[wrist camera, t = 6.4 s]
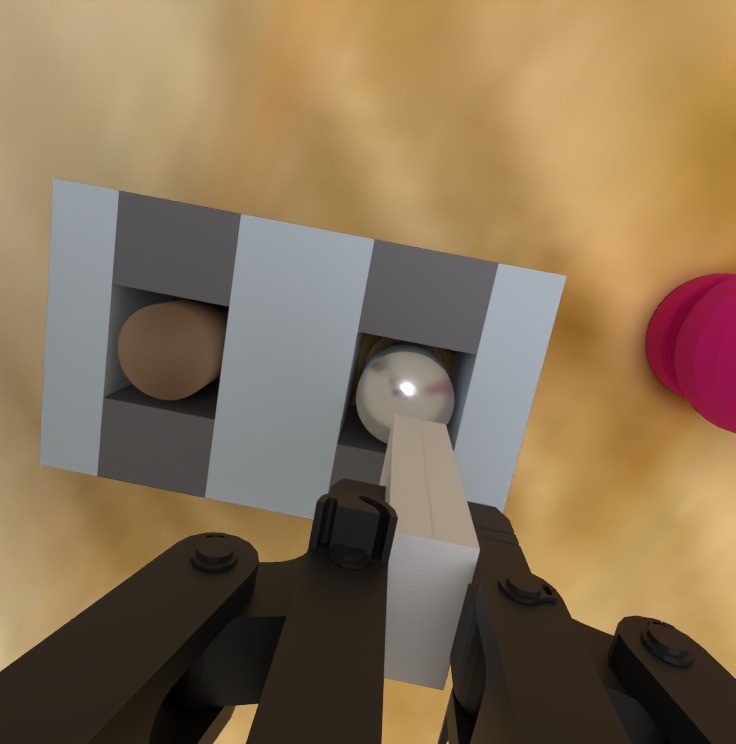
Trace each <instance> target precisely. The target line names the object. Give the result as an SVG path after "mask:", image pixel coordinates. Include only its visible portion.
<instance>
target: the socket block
mask: <svg viewBox="0 0 736 744" xmlns="http://www.w3.org/2000/svg"><path fill="white" fill-rule="evenodd" d="M565 280H566V276H563V275H558V274H553V273H548V272H542V271H537V270H532V269H527V268H521V267H516V266H511V265H506V264H501V263H495V262H490V261H485V260H480V259H474V258H469V257H464V256H459V255H454V254H448V253H443V252H438V251H433V250H427V249H422V248H417V247H412V246H406V245H401V244H396V243H391V242H386V241H380V240H375V239H370V238H365V237H359V236H354V235H349V234H344V233H338V232H333V231H328V230H323V229H318V228H312V227H307V226H302V225H297V224H291V223H286V222H281V221H276V220H271V219H265V218H260V217H255V216H250V215H244V214H239V213H234V212H229V211H223V210H218V209H213V208H208V207H203V206H197V205H192V204H187V203H182V202H176V201H171V200H166V199H161V198H155V197H150V196H145V195H140V194H135V193H129V192H124V191H119V190H114V189H108V188H103V187H98V186H93V185H87V184H82V183H77V182H72V181H67V180H61V179H56V178H53V195H52V215H51V235H50V255H49V276H48V296H47V316H46V336H45V356H44V376H43V397H42V417H41V437H40V457H39V465H44V466H49V467H54V468H59V469H64V470H69V471H74V472H79V473H84V474H89V475H94V476H99V477H104V478H109V479H114V480H119V481H124V482H129V483H134V484H139V485H143V486H148V487H153V488H158V489H163V490H168V491H173V492H178V493H183V494H188V495H193V496H198V497H203V498H208V499H213V500H218V501H223V502H228V503H233V504H238V505H243V506H248V507H253V508H258V509H263V510H268V511H273V512H278V513H283V514H288V515H293V516H298V517H303V518H308V519H314V514H315V508H316V503H317V501H318V500H319V498H320V497H321V496H322V495H324V494H327V493H329V492H330V489H331V486H332V485H333V484H335V483H336V482H338V481H340V480H341V479H343V478H346V479H351V480H356V481H361V482H366V483H371V484H376V485H379V484H380V479H381V474H382V469H383V465H384V460H385V455H386V450H387V445H388V444H387V443H385V442H382V441H381V440H379V439H377V438H376V437H375V436H373V435H372V434H371V433H370V432H369V431H368V430H367V429H366V427H365V426H364V425H363V423H362V421H361V419H360V417H359V415H358V411H357V406H354V405H350V403H351V397H352V392H353V387H354V381H355V376H356V371H357V365H358V360H359V354H360V349H361V344H362V338H363V333H368V334H373V335H378V336H383V337H388V338H393V339H398V340H404V341H409V342H414V343H419V344H424V345H429V346H434V347H440V348H445V349H450V350H455V351H456V352H455V356H454V361H453V365H452V370H451V374H450V381H451V383H452V386H453V390H454V397H455V399H454V409H453V413H452V416H451V418H450V420H449V422H448V424H447V425H446V427H447V431H448V434H449V438H450V442H451V445H452V449H453V453H454V456H455V460H456V463H457V467H458V471H459V474H460V478H461V482H462V485H463V489H464V493H465V496H466V500H467V501H469V502H474V503H479V504H484V505H489V506H494V507H496V508H497V509H498V510H499V511H500V512H501V513H502V514H503V511H504V508H505V504H506V500H507V496H508V493H509V489H510V485H511V481H512V478H513V474H514V470H515V466H516V463H517V459H518V455H519V452H520V448H521V444H522V440H523V437H524V433H525V429H526V425H527V422H528V418H529V414H530V410H531V407H532V403H533V399H534V395H535V392H536V388H537V384H538V380H539V377H540V373H541V369H542V366H543V362H544V358H545V354H546V351H547V347H548V343H549V339H550V336H551V332H552V328H553V324H554V321H555V317H556V313H557V309H558V306H559V302H560V298H561V294H562V291H563V287H564V283H565ZM173 296H177V297H182V298H187V299H193V300H198V301H203V302H208V303H213V304H218V305H223V306H229V313H228V321H227V329H226V337H225V345H224V352H223V360H222V368H221V376H220V379H215V380H213V381H212V382H210V383H209V384H207V385H206V386H204V387H203V388H201V389H200V390H198V391H197V392H195V393H193V394H192V395H190V396H188V397H185V398H182V399H178V400H162V399H158V398H154V397H151V396H149V395H147V394H145V393H143V392H142V391H140V390H139V389H138V388H137V387H136V386H134V385H133V384H132V383H131V381H130V380H129V379H128V378H127V376H126V375H125V373H124V371H123V369H122V367H121V364H120V361H119V357H118V339H119V335H120V332H121V329H122V327H123V325H124V324H125V322H126V321H127V320H128V318H129V317H130V316H131V315H132V314H134V313H135V312H136V311H138V310H139V309H141V308H144V307H146V306H150V305H154V304H160V303H165V302H170V301H173Z"/></svg>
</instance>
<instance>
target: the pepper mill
mask: <svg viewBox="0 0 736 744" xmlns="http://www.w3.org/2000/svg"><path fill="white" fill-rule="evenodd" d="M646 348H647V356H648V359H649V362H650V365H651V368H652V370H653V372H654V374H655V375H656V377H657V378H658V379H659V380H660V381H661V382H662V384H663V385H664V386H666V387H667V388H668V389H670V390H671V391H673V392H675V393H676V394H678V395H680V396H682V397H685V398H686V399H687V401H688V402H689V403H690V404H691V406H692V407H693V408H694V409H695V410H696V411H697V412H698V413H699V414H701V415H702V416H703V417H704V418H705V419H706V420H708V421H709V422H711V423H713V424H714V425H716V426H718V427H720V428H722V429H725V430H728V431H730V432H733V433H736V274H711V275H706V276H701V277H699V278H696V279H694V280H691V281H688V282H686V283H685V284H683V285H681V286H680V287H678V288H677V289H675V290H674V291H673V292H672V293H671V294H669V295H668V296H667V297H666V299H665V300H664V301H663V302H662V303H661V305H660V306H659V307H658V309H657V311H656V312H655V314H654V316H653V318H652V320H651V322H650V325H649V329H648V333H647V343H646Z"/></svg>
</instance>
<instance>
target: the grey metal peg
mask: <svg viewBox="0 0 736 744" xmlns="http://www.w3.org/2000/svg"><path fill="white" fill-rule="evenodd" d="M454 399H455V397H454V390H453V386H452V383H451V381H450V378H449V376H448V374H447V371H446V369H445V366H444V364H443V362H442V359H441V357H440V355H439V353H438V351H437V349H436V348H435V347H434V346H429V345H424V344H419V343H414V342H409V341H404V340H398V339H393V338H388V337H384V338H382V339H381V340H379V341H378V342H377V343H376V344H375V345H374V346H373V348H372V349H371V351H370V352H369V354H368V357H367V359H366V362H365V366H364V369H363V372H362V375H361V378H360V381H359V384H358V388H357V392H356V406H357V411H358V415H359V417H360V419H361V421H362V423H363V425H364V426H365V427H366V429H367V430H368V431H369V432H370V433H371V434H372V435H373V436H375V437H376V438H377V439H379V440H381V441H382V442H385V443H387V444H388V440H389V436H390V431H391V426H392V421H393V416H394V414H395V415H400V416H405V417H411V418H416V419H421V420H426V421H431V422H436V423H441V424H446V425H447V424H448V422H449V420H450V418H451V416H452V413H453V409H454Z"/></svg>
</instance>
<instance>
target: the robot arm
mask: <svg viewBox="0 0 736 744" xmlns="http://www.w3.org/2000/svg"><path fill="white" fill-rule="evenodd" d="M450 664H451V672H452V680H453V687H452V691H451V695H450V699H449V702H448V706H447V710H446V714H445V718H444V721H443V725H442V729H441V733H440V736H439V740H438V744H446V743H447V742H448V741H449V744H736V679H735V678H734V677H733V676H732V675H731V674H730V673H729V672H728V671H727V670H726V669H725V668H724V667H723V666H722V665H720V664H719V663H718V662H717V661H716V660H715V659H714V658H713V657H712V656H711V655H710V654H709V653H708V652H707V651H706V650H705V649H704V648H703V647H701V646H700V645H699V644H698V643H696V642H695V641H694V640H693V639H691V638H690V637H689V636H687V635H686V634H684V633H682V632H680V631H679V630H677V629H676V628H675V627H674V626H672V625H670V624H667V623H665V622H663V623H662V622H661V621H660V620H657V619H653V618H646V617H641V616H630V617H624V618H623V619H622V620H621V621H620V622H619V623H618V626H617V629H616V631H615V634H614V636H612V635H610V634H607V633H605V632H602V631H600V630H597V629H595V628H593V627H590V626H588V625H585V624H583V623H581V622H579V621H576V620H574V619H572V618H571V616H570V613H569V611H568V609H567V607H566V605H565V603H564V601H563V599H562V597H561V596H560V595H559V593H558V592H557V591H556V589H555V588H554V587H552V586H551V585H550V584H548V583H547V582H546V581H545V580H543V579H542V578H540V577H538V576H536V575H534V574H532V573H531V571H530V569H529V566H528V564H527V562H526V559H525V557H524V554H523V552H522V550H521V547H520V546H519V542H518V540H517V538H516V535H514V530H513V528H512V526H511V523H510V521H509V519H508V518H507V517H506V516H505V515H504V514H502V513H501V512H500V511H499V510H498V509H497V508H496V507H494V506H489V505H484V504H479V503H474V502H469V501H467V500H466V496H465V493H464V489H463V485H462V482H461V478H460V474H459V471H458V467H457V463H456V460H455V456H454V453H453V449H452V445H451V442H450V438H449V434H448V431H447V427H446V424H441V423H436V422H431V421H426V420H421V419H416V418H411V417H405V416H400V415H395V414H394V416H393V421H392V426H391V431H390V436H389V440H388V445H387V450H386V455H385V460H384V465H383V469H382V474H381V479H380V484H379V485H376V484H371V483H366V482H361V481H356V480H351V479H346V478H343V479H341V480H340V481H338V482H336V483H335V484H333V485H332V486H331V489H330V492H329V493H327V494H324V495H322V496H321V497H320V498H319V500H318V501H317V503H316V508H315V514H314V519H313V525H312V531H311V536H310V542H309V547H308V551H307V553H305V554H304V555H302V556H300V557H298V558H296V559H292V560H288V561H283V562H259V560H258V553H257V551H256V550H255V548H254V547H253V546H252V545H251V544H250V543H249V542H247V541H245V540H243V539H241V538H239V537H237V536H233V535H228V534H225V533H215V532H213V533H203V534H198V535H193V536H189V537H187V538H185V539H183V540H181V541H179V542H177V543H176V544H175V545H173V546H172V547H170V548H169V549H168V550H166V551H165V552H164V553H162V554H161V555H159V556H158V557H157V558H155V559H154V560H153V561H151V562H150V563H148V564H147V565H146V566H144V567H143V568H142V569H140V570H139V571H138V572H136V573H135V574H133V575H132V576H131V577H129V578H128V579H127V580H125V581H124V582H122V583H121V584H120V585H118V586H117V587H116V588H114V589H113V590H112V591H110V592H109V593H107V594H106V595H105V596H103V597H102V598H101V599H99V600H98V601H96V602H95V603H94V604H92V605H91V606H90V607H88V608H87V609H85V610H84V611H83V612H81V613H80V614H79V615H77V616H76V617H75V618H73V619H72V620H70V621H69V622H68V623H66V624H65V625H64V626H62V627H61V628H59V629H58V630H57V631H55V632H54V633H53V634H51V635H50V636H48V637H47V638H46V639H44V640H43V641H42V642H40V643H39V644H38V645H36V646H35V647H33V648H32V649H31V650H29V651H28V652H27V653H25V654H24V655H22V656H21V657H20V658H18V659H17V660H16V661H14V662H13V663H11V664H10V665H9V666H7V667H6V668H5V669H3V670H2V671H1V672H0V744H213V743H214V741H215V740H216V739H217V737H218V736H219V734H220V733H221V731H222V730H223V728H224V727H225V725H226V724H227V723H228V721H229V720H230V718H231V716H232V713H233V711H234V709H235V706H236V705H247V704H258V707H257V711H256V714H255V717H254V720H253V723H252V726H251V729H250V733H249V736H248V739H247V742H246V744H381V739H382V713H383V686H384V678H387V679H392V680H397V681H402V682H406V683H411V684H416V685H421V686H426V687H430V688H435V689H440V690H444V686H445V683H446V679H447V675H448V671H449V667H450Z"/></svg>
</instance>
